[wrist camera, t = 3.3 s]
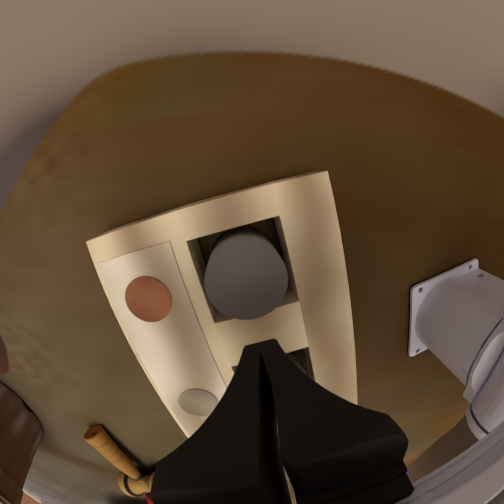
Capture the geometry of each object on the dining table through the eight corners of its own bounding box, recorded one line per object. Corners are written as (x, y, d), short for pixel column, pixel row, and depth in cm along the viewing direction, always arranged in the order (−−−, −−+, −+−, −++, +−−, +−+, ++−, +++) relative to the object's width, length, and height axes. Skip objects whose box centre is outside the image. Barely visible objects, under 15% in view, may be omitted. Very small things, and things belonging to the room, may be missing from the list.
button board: (310, 172, 18) (329, 170, 14) (347, 425, 25) (358, 449, 21) (108, 230, 18) (83, 243, 14) (220, 455, 25) (220, 481, 22)
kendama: (79, 422, 25) (158, 497, 27) (64, 449, 19) (156, 525, 21) (120, 408, 26) (199, 487, 28) (107, 439, 20) (201, 518, 22)
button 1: (266, 218, 18) (277, 231, 14) (282, 279, 19) (295, 307, 15) (202, 236, 18) (193, 254, 14) (221, 295, 19) (218, 327, 15)
